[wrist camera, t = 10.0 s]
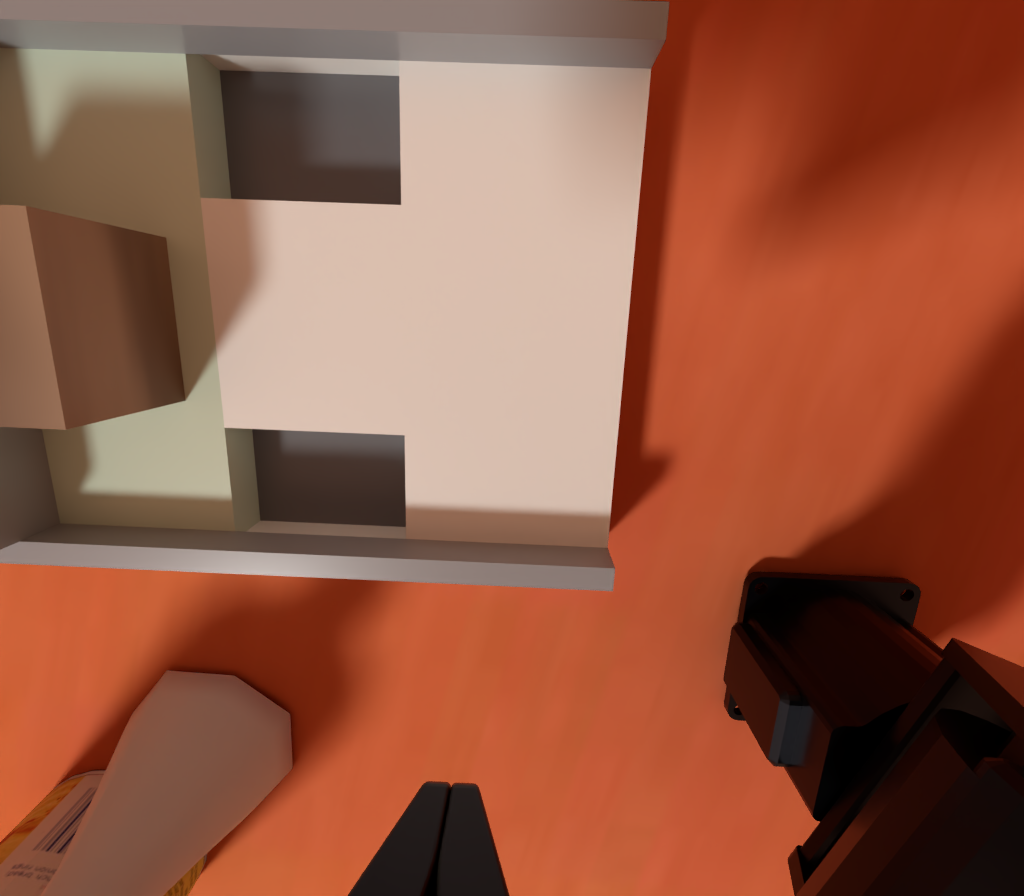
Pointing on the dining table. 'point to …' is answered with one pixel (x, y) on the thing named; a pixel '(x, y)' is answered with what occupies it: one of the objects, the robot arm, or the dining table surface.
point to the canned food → (57, 840)
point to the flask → (176, 785)
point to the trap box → (344, 280)
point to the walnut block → (83, 321)
